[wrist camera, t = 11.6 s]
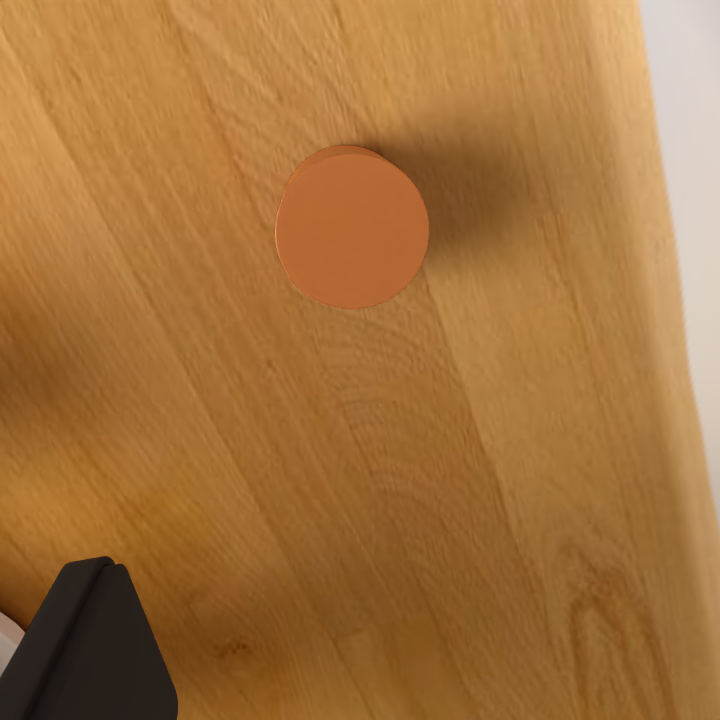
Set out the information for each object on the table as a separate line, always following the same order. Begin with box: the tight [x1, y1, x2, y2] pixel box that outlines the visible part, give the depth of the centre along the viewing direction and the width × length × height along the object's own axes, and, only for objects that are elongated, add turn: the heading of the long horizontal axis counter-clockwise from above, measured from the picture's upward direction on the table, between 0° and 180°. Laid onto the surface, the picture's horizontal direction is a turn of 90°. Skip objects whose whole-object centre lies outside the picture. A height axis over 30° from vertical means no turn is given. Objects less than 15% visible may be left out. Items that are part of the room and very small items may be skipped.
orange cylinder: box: [275, 145, 430, 309], centre depth 21 cm, size 5×5×4 cm
